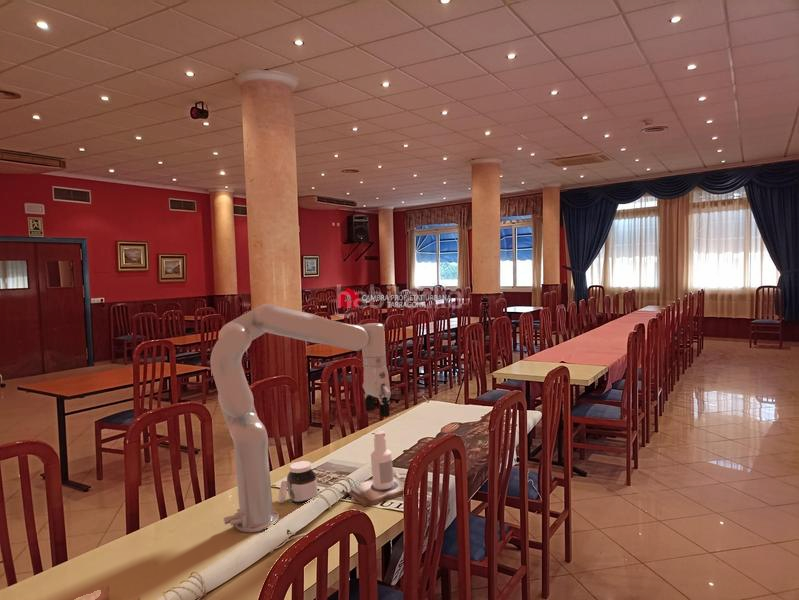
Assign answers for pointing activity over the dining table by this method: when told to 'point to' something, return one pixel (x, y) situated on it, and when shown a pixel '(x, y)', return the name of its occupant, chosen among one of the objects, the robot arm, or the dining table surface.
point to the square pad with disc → (375, 492)
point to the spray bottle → (381, 463)
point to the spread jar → (299, 483)
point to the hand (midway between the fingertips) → (377, 413)
